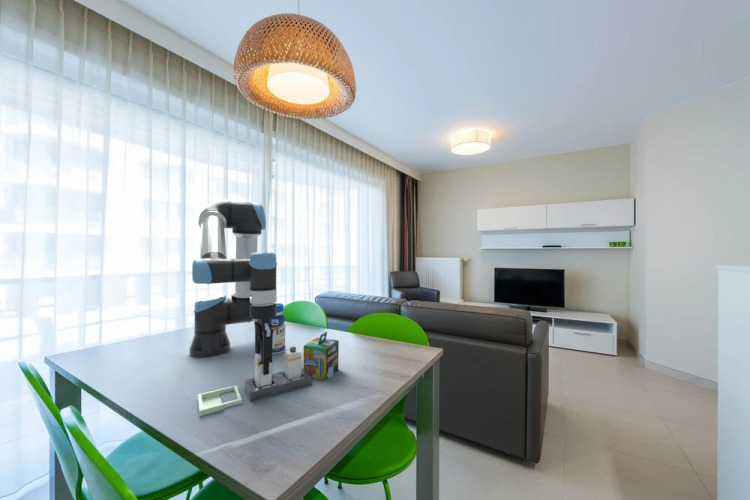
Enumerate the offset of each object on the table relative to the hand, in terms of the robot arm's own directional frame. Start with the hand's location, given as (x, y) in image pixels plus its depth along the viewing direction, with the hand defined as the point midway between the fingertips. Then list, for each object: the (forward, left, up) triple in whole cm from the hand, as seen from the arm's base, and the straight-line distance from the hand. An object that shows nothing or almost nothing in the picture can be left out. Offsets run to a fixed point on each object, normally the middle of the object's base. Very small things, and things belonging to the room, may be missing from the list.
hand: (263, 381), depth 86 cm
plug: (0, 0, -2) cm, 2 cm away
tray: (-1, -11, -4) cm, 12 cm away
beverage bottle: (-35, +13, -4) cm, 37 cm away
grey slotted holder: (0, +5, -4) cm, 6 cm away
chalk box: (-2, +20, -4) cm, 20 cm away
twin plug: (0, +9, -3) cm, 9 cm away
